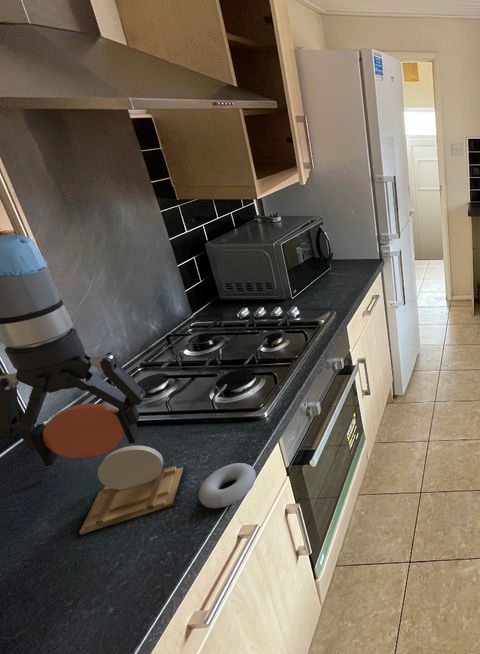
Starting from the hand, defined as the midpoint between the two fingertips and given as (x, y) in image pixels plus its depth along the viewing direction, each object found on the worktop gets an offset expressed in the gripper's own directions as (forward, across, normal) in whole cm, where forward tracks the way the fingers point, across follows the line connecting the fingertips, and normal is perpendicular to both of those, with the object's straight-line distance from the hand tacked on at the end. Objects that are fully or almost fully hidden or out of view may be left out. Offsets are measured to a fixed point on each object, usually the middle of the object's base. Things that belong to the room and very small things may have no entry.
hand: (95, 448), depth 71 cm
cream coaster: (+19, +2, -11) cm, 22 cm away
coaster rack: (+20, +2, -8) cm, 21 cm away
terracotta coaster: (+1, 0, 0) cm, 1 cm away
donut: (+20, -15, -2) cm, 25 cm away
